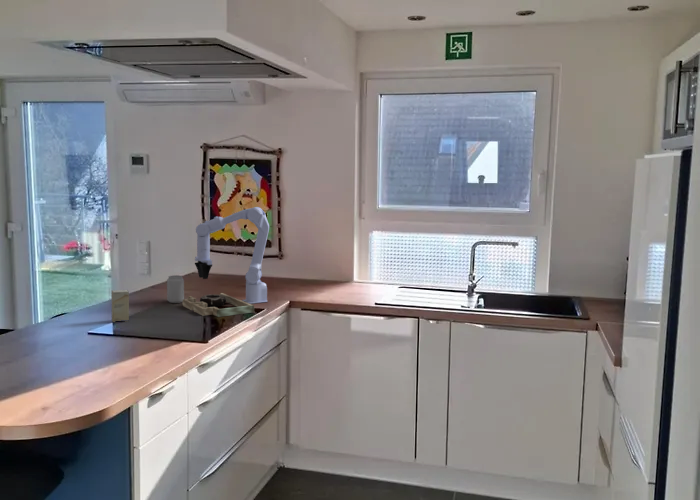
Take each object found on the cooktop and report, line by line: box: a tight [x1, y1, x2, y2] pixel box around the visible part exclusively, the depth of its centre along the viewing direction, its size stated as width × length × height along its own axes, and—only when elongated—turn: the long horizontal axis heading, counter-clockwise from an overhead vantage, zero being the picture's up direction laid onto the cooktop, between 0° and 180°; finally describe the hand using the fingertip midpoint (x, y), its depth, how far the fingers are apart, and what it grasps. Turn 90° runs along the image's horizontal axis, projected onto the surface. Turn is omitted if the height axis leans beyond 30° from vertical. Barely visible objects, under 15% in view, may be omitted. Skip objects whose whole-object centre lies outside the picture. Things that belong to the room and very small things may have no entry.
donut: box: [199, 293, 227, 308], centre depth 286 cm, size 12×12×4 cm
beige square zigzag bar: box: [182, 292, 255, 318], centre depth 279 cm, size 22×31×3 cm
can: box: [166, 274, 185, 304], centre depth 288 cm, size 8×8×12 cm
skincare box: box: [111, 289, 130, 323], centre depth 251 cm, size 6×4×12 cm
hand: (203, 278), depth 293 cm, fingers open, 3 cm apart
